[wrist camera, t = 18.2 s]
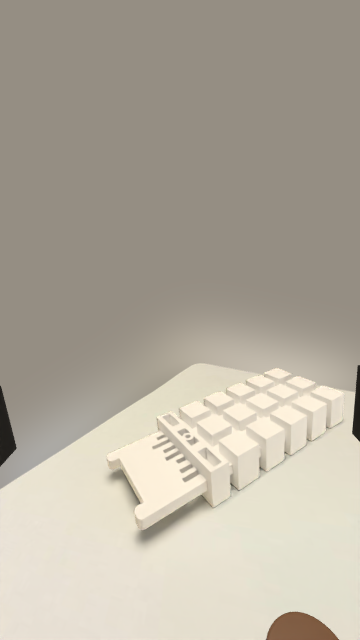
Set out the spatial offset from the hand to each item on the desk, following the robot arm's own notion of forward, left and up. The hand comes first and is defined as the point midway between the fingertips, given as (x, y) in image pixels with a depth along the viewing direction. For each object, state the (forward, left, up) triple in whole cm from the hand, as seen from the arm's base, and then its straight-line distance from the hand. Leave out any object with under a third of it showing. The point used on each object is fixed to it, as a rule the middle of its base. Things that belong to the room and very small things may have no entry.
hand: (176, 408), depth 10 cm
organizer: (+16, +22, -23) cm, 35 cm away
